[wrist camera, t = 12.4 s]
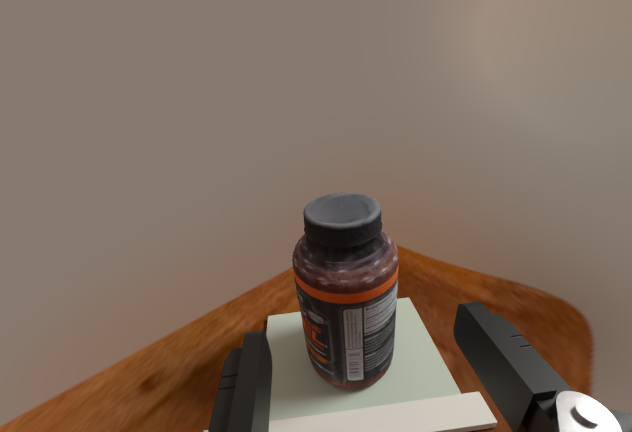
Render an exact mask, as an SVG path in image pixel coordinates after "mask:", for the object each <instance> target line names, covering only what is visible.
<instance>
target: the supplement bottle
mask: <svg viewBox="0 0 632 432" xmlns="http://www.w3.org/2000/svg"><path fill="white" fill-rule="evenodd" d="M304 224H305V228H304V231H305V234H304V235H303V236H302V238H300V240H299V241H298V243H297V244H296V246H295V249H294V252H293V269H294V275H295V283H296V288H297V294H298V299H299V305H300V311H301V317H302V323H303V329H304V334H305V341H306V346H307V352H308V355H309V358H310V361H311V363H312V365H313V367H314V369H315V370H316V371H317V373H318V374H319V375H320V376H321V377H322V378H324V379H325V380H326V381H328V382H329V383H331V384H334V385H335V386H337V387H342V388H348V389H351V388H362V387H366V386H369V385H371V384H373V383H375V382H376V381H378V380H379V379H381V377H382V376H383V375H384V374H385V373H386V372H387V370H388V369H389V367H390V364H391V361H392V358H393V351H394V338H395V320H396V304H397V286H398V264H399V259H398V250H397V247H396V245H395V243H394V241H393V240H392V238H391V237H390V236H389V235H388V234H387V233H386V232H384V231H383V230H381V229H382V222H381V206H380V204H379V203H378V202H377V200H375V199H374V198H372V197H369V196H367V195H363V194H358V193H346V192H341V193H333V194H328V195H325V196H322V197H319V198H316V199H315V200H313V201H311V202H310V203H308V204H307V206H306V207H305V209H304Z"/></svg>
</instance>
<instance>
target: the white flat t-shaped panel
mask: <svg viewBox="0 0 632 432" xmlns="http://www.w3.org/2000/svg"><path fill="white" fill-rule="evenodd" d="M266 336H267V340H268V343H269V347H270V351H271V355H272V385H271V401H270V416H269V432H468V431H475V430H482V429H489V428H495V427H496V425H497V421H496V419H495V417H494V416H493V414H492V412H491V411H490V409H489V407H488V406H487V404H486V402H485V401H484V399H483V398H482V396H481V394H480V393H479V392H472V393H465V394H461V392H460V391H459V389H458V387H457V385H456V383H455V381H454V379H453V378H452V376H451V374H450V372H449V370H448V368H447V367H446V365H445V363H444V361H443V359H442V357H441V355H440V354H439V352H438V350H437V348H436V346H435V344H434V343H433V341H432V339H431V337H430V335H429V333H428V332H427V330H426V328H425V326H424V324H423V322H422V320H421V319H420V317H419V315H418V313H417V311H416V309H415V308H414V306H413V304H412V302H411V300H410V298H401V299H397V304H396V320H395V338H394V351H393V358H392V361H391V364H390V367H389V369H388V370H387V372H386V373H385V374H384V375H383V376H382V377H381V379H379V380H378V381H376V382H375V383H373V384H371V385H369V386H366V387H362V388H351V389H348V388H342V387H337V386H335V385H334V384H331V383H329V382H328V381H326V380H325V379H324V378H322V377H321V376H320V375H319V374H318V373H317V371H316V370H315V369H314V367H313V365H312V363H311V361H310V358H309V355H308V352H307V346H306V341H305V334H304V329H303V323H302V317H301V312H295V313H288V314H280V315H272V316H268V323H267V332H266ZM204 432H208V430H205V431H204Z"/></svg>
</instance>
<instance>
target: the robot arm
mask: <svg viewBox="0 0 632 432" xmlns="http://www.w3.org/2000/svg"><path fill="white" fill-rule="evenodd" d="M454 337H455V340H456V342H457V344H458V346H459V348H460V349H461V351H462V352H463V354H464V356H465V357H466V359H467V360H468V362H469V363H470V365H471V367H472V368H473V370H474V371H475V373H476V374H477V376H478V378H479V379H480V381H481V382H482V384H483V385H484V387H485V388H486V390H487V392H488V393H489V395H490V396H491V398H492V399H493V401H494V403H495V404H496V406H497V407H498V409H499V410H500V412H501V414H502V415H503V417H504V418H505V420H506V421H507V423H508V425H509V426H510V428H511V429H512V431H513V432H632V414H630V413H625V412H619V411H613V410H609V409H606V408H605V407H604V406H602V405H601V404H600V403H599V402H597V401H596V400H594V399H592V398H590V397H589V396H586V395H584V394H582V393H578V392H575V391H573V390H572V389H571V388H570V387H569V386H568V385H567V384H566V383H565V381H564V380H563V379H562V378H561V377H560V376H559V375H558V374H557V373H556V372H555V371H554V369H553V368H552V367H551V366H550V365H549V364H548V363H547V362H546V361H545V360H544V359H543V357H542V356H541V355H540V354H539V353H538V352H537V351H536V350H535V349H534V348H533V347H531V344H530V343H529V342H528V341H527V340H526V339H525V338H524V337H522V335H521V334H520V332H519V331H518V330H517V329H516V328H515V327H514V326H513V325H512V324H511V323H510V322H509V321H507V320H506V319H504V318H503V317H501V316H500V315H498V314H497V313H494V314H491V313H490V312H489V311H488V310H487V308H486V307H485V306H484V305H483V304H482V303H481V302H471V303H463V304H459V305H458V308H457V314H456V319H455V325H454ZM271 385H272V355H271V351H270V347H269V343H268V340H267V336H266V332H265V330H262V331H255V332H247V333H246V334H245V337H244V342H243V347H242V348H237V349H233V350H232V351H231V353H230V354H229V356H228V358H227V359H226V361H225V363H224V367H223V371H222V376H221V380H220V384H219V388H218V389H219V391H218V392H217V397H216V401H215V405H214V409H213V413H212V418H211V422H210V426H209V430H208V432H269V416H270V401H271Z"/></svg>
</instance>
